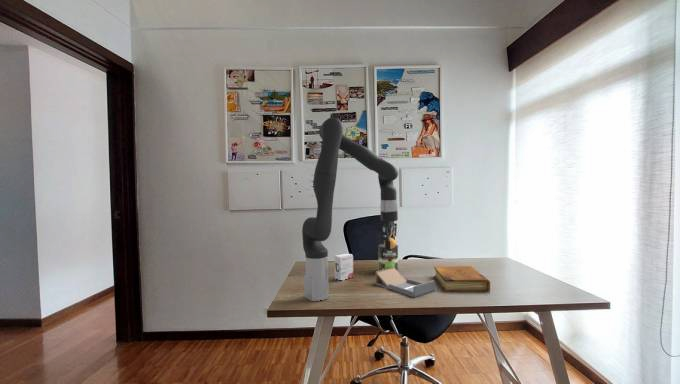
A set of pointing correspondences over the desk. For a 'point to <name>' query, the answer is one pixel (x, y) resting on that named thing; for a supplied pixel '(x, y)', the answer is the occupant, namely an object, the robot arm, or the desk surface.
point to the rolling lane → (402, 283)
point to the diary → (461, 279)
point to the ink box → (343, 266)
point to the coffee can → (388, 257)
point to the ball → (392, 243)
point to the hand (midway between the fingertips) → (389, 247)
